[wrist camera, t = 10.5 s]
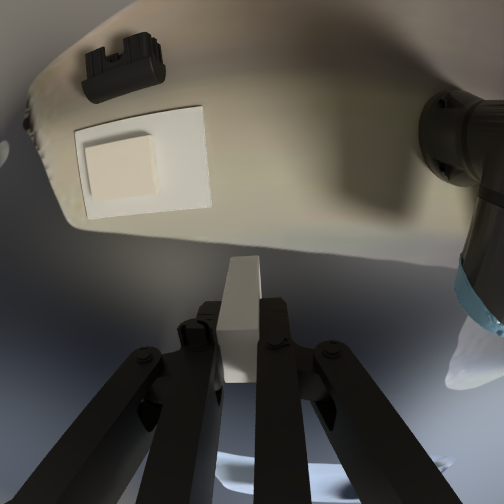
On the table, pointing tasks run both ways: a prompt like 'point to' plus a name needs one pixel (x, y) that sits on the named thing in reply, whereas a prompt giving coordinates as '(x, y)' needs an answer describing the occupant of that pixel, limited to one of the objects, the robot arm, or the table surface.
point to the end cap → (124, 69)
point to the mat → (166, 159)
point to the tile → (122, 169)
